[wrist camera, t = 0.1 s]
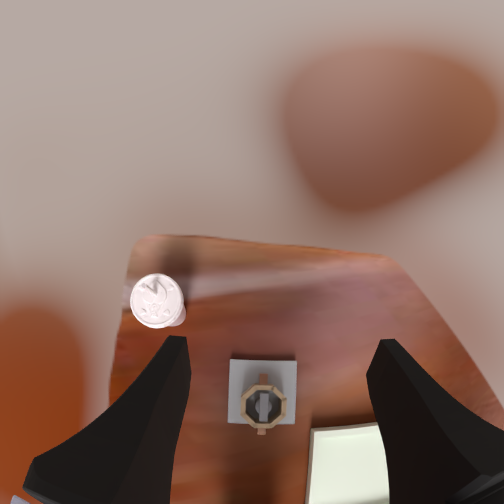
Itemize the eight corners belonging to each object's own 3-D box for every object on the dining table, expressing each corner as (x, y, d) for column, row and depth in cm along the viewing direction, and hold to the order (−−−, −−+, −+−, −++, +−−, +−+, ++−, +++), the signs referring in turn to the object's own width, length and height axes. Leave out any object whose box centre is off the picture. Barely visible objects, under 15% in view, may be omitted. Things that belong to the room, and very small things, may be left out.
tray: (398, 501, 32) (405, 506, 29) (303, 518, 31) (306, 525, 29) (409, 416, 37) (417, 418, 35) (310, 428, 37) (314, 431, 35)
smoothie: (195, 292, 44) (175, 260, 31) (195, 336, 42) (172, 322, 28) (153, 291, 44) (118, 260, 31) (151, 334, 41) (113, 320, 28)
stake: (293, 422, 37) (299, 429, 32) (228, 421, 37) (225, 428, 32) (295, 360, 41) (302, 360, 36) (230, 359, 41) (228, 358, 36)
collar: (282, 432, 36) (285, 438, 33) (239, 431, 36) (239, 437, 32) (284, 373, 39) (287, 374, 35) (242, 372, 39) (241, 373, 35)
